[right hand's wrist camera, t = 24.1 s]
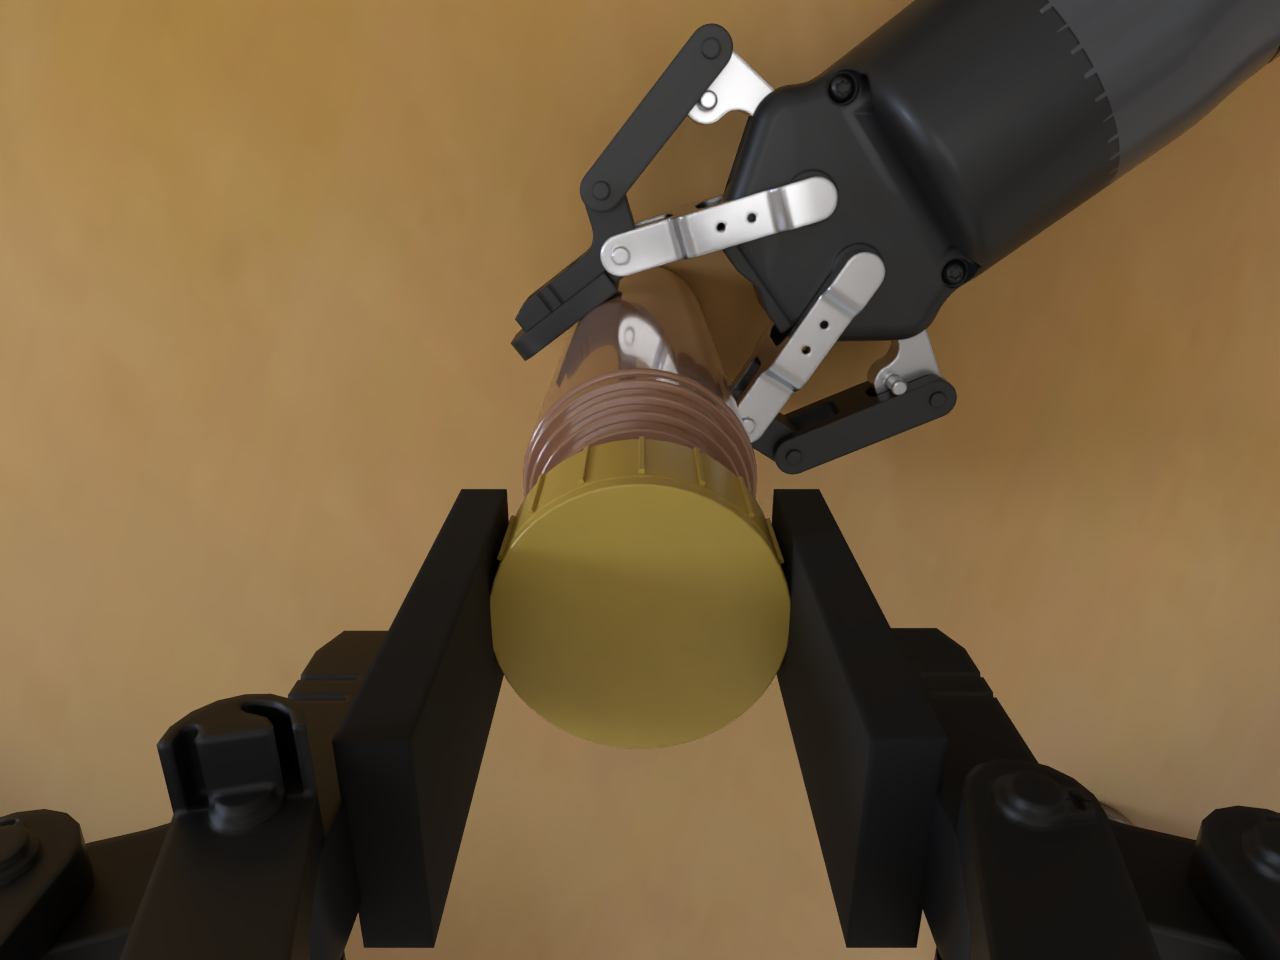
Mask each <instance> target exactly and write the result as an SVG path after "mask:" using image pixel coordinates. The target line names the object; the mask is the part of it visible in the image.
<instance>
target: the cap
mask: <svg viewBox="0 0 1280 960" xmlns="http://www.w3.org/2000/svg"><path fill="white" fill-rule="evenodd" d="M497 560H500V562H499V565H498V568H497V572H496V574H495V577H494V581H493V585H492V589H491V593H490V612H491V626H492V640H493V650H494V653H495V656H496V659H497V661H498V664H499V666H500V668H501V670H502V672H503V673H504V675H505V677H506V679H507V681H508V682H509V683H510V685H511V686H512V688H513V689H514V690H515V692H516V693H517V694H518V696H519V697H520V698H521V699H522V700H523V701H524V702H525V703H526V704H527V705H528V706H529V707H530V708H531V709H532V710H534V711H535V712H536V713H537V714H539V715H540V716H541V717H542V718H543V719H545V720H547V721H548V722H550V723H551V724H553V725H554V726H556V727H558V728H559V729H561V730H563V731H565V732H568V733H570V734H572V735H574V736H576V737H579V738H582V739H585V740H588V741H590V742H594V743H598V744H602V745H607V746H612V747H620V748H629V749H650V748H660V747H668V746H673V745H678V744H682V743H686V742H689V741H692V740H695V739H698V738H701V737H704V736H706V735H708V734H710V733H712V732H715V731H717V730H719V729H721V728H722V727H724V726H726V725H727V724H729V723H730V722H732V721H734V720H735V719H736V718H738V717H739V716H740V715H741V714H743V713H744V712H745V711H747V710H748V709H749V708H750V707H751V706H752V705H753V704H754V703H755V702H756V701H757V700H758V699H759V698H760V697H761V695H762V694H763V693H764V692H765V690H766V689H767V688H768V686H769V685H770V684H771V682H772V680H773V679H774V677H775V675H776V673H777V672H778V670H779V668H780V666H781V664H782V661H783V659H784V656H785V653H786V651H787V646H788V634H789V620H790V604H791V598H790V593H789V589H788V584H787V581H786V578H785V575H784V572H783V569H782V566H781V563H784V559H783V556H782V553H781V550H780V547H779V544H778V542H777V539H776V536H775V533H774V530H773V527H772V524H771V521H770V519H769V518H767V519H765V516H764V514H763V512H762V510H761V508H760V506H759V504H758V503H757V501H756V499H755V497H754V496H753V495H752V493H751V492H750V491H749V490H748V488H747V487H746V485H745V482H744V479H743V478H742V477H741V476H739V477H737V476H736V475H735V474H734V473H733V472H731V471H730V470H729V469H727V468H726V467H725V466H723V465H722V464H721V463H719V462H718V461H716V460H714V459H712V458H711V457H709V456H707V455H705V454H704V453H701V452H700V450H699V448H697V447H694V449H692V448H689V447H687V446H683V445H679V444H675V443H672V442H667V441H659V440H652V439H644V436H639V439H629V440H621V441H613V442H609V443H605V444H600V445H597V446H594V447H591V448H589V446H586V447H584V450H583V451H581V452H579V453H577V454H575V455H573V456H571V457H569V458H567V459H566V460H564V461H562V462H561V463H560V464H558V465H557V466H555V467H554V468H553V469H551V470H550V471H549V472H548V473H547V474H546V475H545V476H544V475H543V474H541V475H540V476H539V477H538V480H537V483H536V485H535V486H534V487H533V488H532V490H531V491H530V492H529V493H528V495H527V496H526V498H525V499H524V501H523V503H522V504H521V506H520V508H519V509H518V512H517V514H516V517H515V516H513V515H512V516H511V519H510V521H509V524H508V527H507V530H506V533H505V536H504V539H503V542H502V545H501V547H500V550H499V553H498V556H497Z"/></svg>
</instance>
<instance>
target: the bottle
mask: <svg viewBox="0 0 1280 960" xmlns="http://www.w3.org/2000/svg"><path fill="white" fill-rule="evenodd" d="M639 436H644V439H652V440H659V441H667V442H672V443H675V444H679V445H683V446H687V447H689V448H692V449H694V447H697V448H699V450H700V452H701V453H704V454H705V455H707V456H709V457H711V458H712V459H714V460H716V461H718V462H719V463H721V464H722V465H723V466H725V467H726V468H727V469H729V470H730V471H731V472H733V473H734V474H735V475H736V476H737V477H739V476H741V477H742V478H743V479H744V482H745V485H746V487H747V488H748V490H749V491H750V492H751V493H752V495H753V496H754V497H755V499H756V486H757V467H756V460H755V455H754V450H753V447H752V445H751V442H750V439H749V436H748V433H747V431H746V428H745V425H744V423H743V420H742V417H741V414H740V412H739V409H738V406H737V404H736V401H735V398H734V396H733V393H732V390H731V387H730V385H729V382H728V379H727V377H726V374H725V371H724V369H723V366H722V363H721V361H720V358H719V355H718V352H717V350H716V347H715V344H714V342H713V339H712V336H711V334H710V331H709V328H708V326H707V323H706V320H705V317H704V315H703V312H702V309H701V307H700V304H699V301H698V299H697V298H696V296H695V294H694V292H693V291H692V289H691V288H690V287H689V286H688V285H687V283H686V282H685V281H684V280H682V279H681V278H680V277H679V276H678V275H676V274H675V273H673V272H671V271H669V270H667V269H665V268H663V267H660V266H657V267H654V268H650V269H647V270H644V271H640V272H637V273H634V274H630V275H627V276H625V277H623V278H622V279H621V280H620V282H619V288H618V292H616V293H615V294H614V295H612V296H611V297H610V298H608V299H607V300H606V301H604V302H603V303H602V304H600V305H599V306H598V307H596V308H595V309H593V310H592V311H591V312H589V313H588V314H587V315H586V316H585V317H583V318H582V319H581V320H580V321H578V322H577V323H576V324H574V325H573V326H572V328H571V331H570V334H569V336H568V339H567V342H566V344H565V347H564V350H563V352H562V355H561V358H560V361H559V363H558V366H557V369H556V371H555V374H554V377H553V379H552V382H551V385H550V387H549V390H548V393H547V395H546V398H545V401H544V404H543V406H542V409H541V412H540V414H539V417H538V420H537V422H536V425H535V428H534V430H533V433H532V436H531V439H530V441H529V444H528V448H527V451H526V455H525V460H524V468H523V487H524V499H525V498H526V496H527V495H528V493H529V492H530V491H531V490H532V488H533V487H534V486H535V485H536V483H537V480H538V477H539V476H540V475H541V474H543V475H544V476H545V475H546V474H547V473H548V472H549V471H550V470H551V469H553V468H554V467H555V466H557V465H558V464H560V463H561V462H562V461H564V460H566V459H567V458H569V457H571V456H573V455H575V454H577V453H579V452H581V451H583V450H584V447H586V446H589V448H591V447H594V446H597V445H600V444H605V443H609V442H613V441H621V440H629V439H639Z"/></svg>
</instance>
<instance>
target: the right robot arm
mask: <svg viewBox="0 0 1280 960" xmlns="http://www.w3.org/2000/svg"><path fill="white" fill-rule="evenodd" d="M508 524H509V520H508V503H507V489H461V491H460V493H459V495H458V497H457V499H456V501H455V503H454V505H453V507H452V509H451V511H450V513H449V515H448V517H447V518H446V520H445V522H444V524H443V526H442V528H441V530H440V532H439V534H438V536H437V538H436V540H435V542H434V544H433V546H432V548H431V549H430V551H429V553H428V555H427V557H426V559H425V561H424V563H423V565H422V567H421V569H420V571H419V573H418V575H417V577H416V579H415V580H414V582H413V584H412V586H411V588H410V590H409V592H408V594H407V596H406V598H405V600H404V602H403V604H402V606H401V608H400V610H399V611H398V613H397V615H396V617H395V619H394V621H393V623H392V625H391V627H390V629H389V631H343V632H342V633H341V634H339V635H338V636H337V637H335V638H334V639H332V640H331V641H330V642H328V643H327V644H326V645H324V646H323V647H322V648H320V649H319V650H317V651H316V652H315V654H314V656H313V657H312V659H311V660H310V662H309V663H308V665H307V667H306V668H305V670H304V671H303V673H302V674H301V680H298V681H297V682H296V684H295V685H294V687H293V688H292V690H291V692H290V693H289V695H288V698H285V697H281V696H277V695H273V694H245V695H241V696H236V697H232V698H227V699H223V700H218V701H216V702H213V703H211V704H209V705H206V706H204V707H202V708H199V709H197V710H195V711H192V712H191V713H189V714H188V715H186V716H185V717H184V718H182V719H181V720H179V721H178V722H177V723H175V724H174V725H172V726H171V727H170V728H169V729H168V730H167V732H166V733H165V734H164V736H163V737H162V738H161V739H160V741H159V742H158V743H157V748H158V752H159V756H160V760H161V765H162V769H163V773H164V777H165V781H166V785H167V789H168V793H169V797H170V801H171V805H172V809H173V813H174V815H173V818H172V821H171V823H168V824H165V825H161V826H158V827H155V828H151V829H148V830H144V831H140V832H135V833H131V834H126V835H122V836H117V837H113V838H109V839H104V840H100V841H95V842H91V843H86V844H85V841H84V838H83V834H82V831H81V828H80V824H79V823H78V822H76V821H75V820H74V819H73V818H72V817H71V816H70V815H68V814H67V813H63V812H58V811H52V810H46V809H41V810H33V811H24V812H16V813H12V814H9V815H6V816H3V817H0V960H346V958H345V953H344V949H345V947H346V944H347V941H348V938H349V936H350V933H351V930H352V927H353V925H354V922H355V919H356V917H357V914H358V912H359V918H360V924H361V931H362V937H363V944H364V948H434V945H435V942H436V938H437V934H438V930H439V926H440V922H441V918H442V914H443V910H444V906H445V902H446V899H447V895H448V891H449V887H450V883H451V879H452V875H453V871H454V867H455V863H456V860H457V856H458V852H459V848H460V844H461V840H462V836H463V832H464V828H465V824H466V820H467V817H468V813H469V809H470V805H471V801H472V797H473V793H474V789H475V785H476V781H477V778H478V774H479V770H480V766H481V762H482V758H483V754H484V750H485V746H486V742H487V738H488V735H489V731H490V727H491V723H492V719H493V715H494V711H495V707H496V703H497V699H498V696H499V692H500V688H501V684H502V680H503V676H504V673H503V672H502V670H501V668H500V666H499V664H498V661H497V659H496V656H495V653H494V650H493V640H492V626H491V612H490V593H491V589H492V585H493V581H494V577H495V574H496V572H497V568H498V565H499V562H500V560H497V556H498V553H499V550H500V547H501V545H502V542H503V539H504V536H505V533H506V530H507V527H508ZM772 527H773V530H774V533H775V536H776V539H777V542H778V544H779V547H780V550H781V553H782V556H783V559H784V563H781V566H782V569H783V572H784V575H785V578H786V581H787V584H788V589H789V593H790V598H791V604H790V620H789V634H788V646H787V651H786V653H785V656H784V659H783V661H782V664H781V666H780V668H779V670H778V672H777V673H776V674H777V678H778V682H779V686H780V690H781V693H782V697H783V701H784V705H785V709H786V713H787V717H788V721H789V725H790V729H791V732H792V736H793V740H794V744H795V748H796V752H797V756H798V760H799V764H800V768H801V772H802V775H803V779H804V783H805V787H806V791H807V795H808V799H809V803H810V807H811V811H812V814H813V818H814V822H815V826H816V830H817V834H818V838H819V842H820V846H821V850H822V853H823V857H824V861H825V865H826V869H827V873H828V877H829V881H830V885H831V889H832V893H833V896H834V900H835V904H836V908H837V912H838V916H839V920H840V924H841V928H842V932H843V935H844V939H845V943H846V947H847V948H916V947H917V941H918V934H919V928H920V922H921V915H922V909H923V911H924V914H925V916H926V919H927V922H928V924H929V927H930V930H931V933H932V935H933V938H934V941H935V943H936V946H937V947H936V953H935V958H934V960H1280V813H1277V812H1274V811H1271V810H1268V809H1262V808H1253V807H1245V806H1233V807H1227V808H1221V809H1215V810H1214V811H1213V812H1212V813H1210V814H1209V815H1208V816H1207V817H1206V818H1205V819H1203V820H1202V823H1201V827H1200V830H1199V833H1198V837H1197V840H1192V839H1188V838H1183V837H1179V836H1174V835H1170V834H1166V833H1161V832H1157V831H1152V830H1148V829H1143V828H1139V827H1135V826H1131V825H1128V824H1124V823H1121V822H1118V821H1114V820H1111V819H1109V818H1108V817H1107V814H1106V812H1105V811H1104V809H1103V808H1102V806H1101V805H1100V803H1099V802H1098V800H1097V799H1096V797H1095V796H1094V794H1092V793H1091V792H1090V791H1089V790H1087V789H1086V788H1085V787H1084V786H1082V785H1081V784H1080V783H1079V782H1077V781H1076V780H1075V779H1074V778H1072V777H1070V776H1068V775H1066V774H1063V773H1061V772H1059V771H1057V770H1055V769H1053V768H1051V767H1049V766H1046V765H1042V764H1039V763H1038V762H1037V760H1036V759H1035V757H1034V756H1033V754H1032V752H1031V751H1030V749H1029V748H1028V746H1027V745H1026V743H1025V742H1024V740H1023V738H1022V737H1021V735H1020V734H1019V732H1018V731H1017V729H1016V728H1015V726H1014V724H1013V723H1012V721H1011V720H1010V718H1009V717H1008V715H1007V714H1006V712H1005V710H1004V709H1003V707H1002V706H1001V704H1000V703H999V701H998V700H997V698H993V692H992V690H991V689H990V687H989V686H988V684H987V682H986V681H985V679H984V678H983V677H980V671H979V670H978V668H977V667H976V665H975V664H974V662H973V661H972V659H971V657H970V656H969V654H968V653H967V651H966V650H965V648H963V647H962V646H960V645H959V644H958V643H956V642H955V641H954V640H952V639H951V638H949V637H948V636H947V635H945V634H944V633H942V632H941V631H940V630H938V629H937V628H890V626H889V624H888V622H887V620H886V618H885V616H884V614H883V612H882V610H881V608H880V606H879V605H878V603H877V601H876V599H875V597H874V595H873V593H872V591H871V589H870V587H869V585H868V583H867V581H866V579H865V577H864V575H863V574H862V572H861V570H860V568H859V566H858V564H857V562H856V560H855V558H854V556H853V554H852V552H851V550H850V548H849V546H848V544H847V543H846V541H845V539H844V537H843V535H842V533H841V531H840V529H839V527H838V525H837V523H836V521H835V519H834V517H833V515H832V513H831V512H830V510H829V508H828V506H827V504H826V502H825V500H824V498H823V496H822V494H821V492H820V490H819V489H774V496H773V512H772Z"/></svg>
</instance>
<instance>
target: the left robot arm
mask: <svg viewBox="0 0 1280 960" xmlns="http://www.w3.org/2000/svg"><path fill="white" fill-rule="evenodd" d="M1279 56H1280V0H915V1H914V2H912V3H911V4H910V5H909V6H907V7H906V8H905V9H903V10H902V11H901V12H900V13H898V14H897V15H896V16H894V17H893V18H892V19H891V20H889V21H888V22H887V23H886V24H884V25H883V26H882V27H880V28H879V29H878V30H877V31H875V32H874V33H873V34H871V35H870V36H869V37H868V38H866V39H865V40H864V41H862V42H861V43H860V44H859V45H857V46H856V47H855V48H854V49H852V50H851V51H850V52H848V53H847V54H846V55H845V56H843V57H842V58H841V59H839V60H838V61H837V62H836V63H834V64H833V65H832V66H830V67H829V68H828V69H827V70H825V71H824V72H823V73H821V74H820V75H818V76H817V77H815V78H814V79H812V80H810V81H808V82H805V83H801V84H795V85H787V86H783V87H780V88H778V89H775V90H774V89H773V88H772V87H771V86H770V85H769V84H768V83H767V82H766V81H765V80H764V79H763V78H761V77H760V76H759V75H758V74H757V73H756V72H755V71H754V70H753V69H752V68H751V67H750V66H749V65H748V64H747V63H746V62H745V61H744V60H743V59H742V58H741V57H740V56H738V55H737V54H736V53H735V52H734V51H733V43H732V39H731V36H730V34H729V33H728V32H727V30H726V29H725V28H723V27H722V26H720V25H717V24H706V25H703V26H701V27H700V28H698V29H697V30H696V31H695V32H694V34H693V35H692V36H691V37H690V39H689V40H688V41H687V43H686V44H685V45H684V47H683V48H682V49H681V51H680V52H679V53H678V54H677V56H676V57H675V58H674V60H673V61H672V62H671V64H670V65H669V66H668V68H667V69H666V70H665V72H664V73H663V74H662V75H661V77H660V78H659V79H658V81H657V82H656V83H655V85H654V86H653V87H652V89H651V90H650V91H649V92H648V94H647V95H646V96H645V98H644V99H643V100H642V102H641V103H640V104H639V106H638V107H637V108H636V110H635V111H634V112H633V113H632V115H631V116H630V117H629V119H628V120H627V121H626V123H625V124H624V125H623V127H622V128H621V129H620V130H619V132H618V133H617V134H616V136H615V137H614V138H613V140H612V141H611V142H610V144H609V145H608V146H607V148H606V149H605V150H604V151H603V153H602V154H601V155H600V157H599V158H598V159H597V161H596V162H595V163H594V165H593V166H592V167H591V169H590V170H589V171H588V172H587V174H586V175H585V176H584V178H583V180H582V182H581V186H580V195H581V198H582V200H583V202H584V204H585V206H586V210H587V213H588V216H589V219H590V223H591V226H592V230H593V242H592V245H591V247H590V248H589V249H588V250H587V251H586V252H585V253H584V254H582V255H581V256H580V257H579V258H577V259H576V260H575V261H574V262H572V263H571V264H570V265H568V266H567V267H566V268H565V269H563V270H562V271H561V272H560V273H558V274H557V275H556V276H554V277H553V278H552V279H551V280H549V281H548V282H547V283H546V284H544V285H543V286H542V287H540V288H539V289H538V290H537V291H535V292H534V293H533V294H531V295H530V296H529V297H528V298H527V300H526V301H525V303H524V304H523V306H522V307H521V309H520V311H519V313H518V315H517V316H516V318H515V320H516V321H517V322H518V323H519V325H520V326H521V327H522V328H523V329H522V330H520V331H519V332H518V333H517V334H516V336H515V337H514V339H513V340H512V342H511V344H512V346H513V347H514V348H515V349H516V350H517V352H518V353H519V354H520V355H521V357H522V358H523V359H524V360H525V361H526V360H528V359H529V358H531V357H532V356H534V355H535V354H536V353H538V352H539V351H540V350H542V349H543V348H544V347H546V346H547V345H548V344H549V343H551V342H552V341H553V340H555V339H556V338H557V337H559V336H560V335H561V334H563V333H564V332H565V331H566V330H568V329H569V328H570V327H572V326H573V325H574V324H576V323H577V322H578V321H580V320H581V319H582V318H583V317H585V316H586V315H587V314H588V313H589V312H591V311H592V310H593V309H595V308H596V307H598V306H599V305H600V304H602V303H603V302H604V301H606V300H607V299H608V298H610V297H611V296H612V295H614V294H615V293H616V292H618V288H619V282H620V280H621V279H622V278H623V277H625V276H627V275H630V274H634V273H637V272H640V271H644V270H647V269H650V268H654V267H657V266H660V265H664V264H667V263H670V262H674V261H677V260H681V259H689V258H694V257H698V256H701V255H705V254H708V253H711V252H715V251H718V250H721V249H722V250H723V252H724V253H725V254H726V256H727V257H728V259H729V260H730V262H731V263H732V264H733V266H734V267H735V268H736V270H737V271H738V272H739V273H740V274H742V275H743V276H744V277H745V278H747V279H748V280H749V281H750V282H751V283H752V284H753V287H754V290H755V292H756V295H757V298H758V301H759V303H760V305H761V306H762V307H763V309H764V310H765V312H766V313H767V315H768V316H769V318H770V319H771V320H772V321H771V322H770V324H769V325H768V327H767V328H766V330H765V331H764V332H763V334H762V335H761V337H760V338H759V340H758V341H757V343H756V345H755V347H754V350H753V353H752V355H751V357H750V358H749V360H748V361H747V363H746V364H745V366H744V367H743V368H742V370H741V371H740V373H739V374H738V376H737V377H736V379H735V380H734V381H733V383H732V384H731V386H730V387H731V390H732V393H733V396H734V398H735V401H736V404H737V406H738V409H739V412H740V414H741V417H742V420H743V423H744V425H745V428H746V431H747V433H748V436H749V439H750V442H751V445H752V447H753V448H754V449H756V450H757V451H759V452H761V453H762V454H764V455H765V456H767V457H768V458H770V459H772V460H773V461H775V462H776V464H777V466H778V468H779V469H780V470H781V471H783V472H785V473H787V474H798V473H801V472H804V471H806V470H809V469H811V468H814V467H816V466H819V465H821V464H824V463H826V462H829V461H831V460H834V459H836V458H839V457H841V456H844V455H846V454H849V453H851V452H854V451H856V450H859V449H861V448H864V447H867V446H869V445H872V444H874V443H877V442H879V441H882V440H884V439H887V438H889V437H892V436H894V435H897V434H899V433H902V432H904V431H907V430H909V429H912V428H914V427H917V426H919V425H922V424H924V423H927V422H929V421H932V420H934V419H937V418H939V417H942V416H944V415H946V414H948V413H949V412H950V411H951V410H952V409H953V407H954V406H955V403H956V399H957V395H956V391H955V389H954V387H953V386H952V385H951V384H950V383H948V382H947V381H946V379H945V378H943V377H942V376H941V374H940V372H939V369H938V366H937V362H936V359H935V356H934V353H933V350H932V347H931V344H930V341H929V337H928V334H927V331H926V328H928V326H929V325H930V324H931V323H932V322H933V320H934V318H935V317H936V315H937V313H938V311H939V309H940V308H941V306H942V305H943V303H944V302H945V301H946V299H947V298H948V297H949V296H950V295H951V294H952V293H953V292H954V291H955V290H956V289H957V288H959V287H960V286H962V285H963V284H965V283H967V282H968V281H970V280H972V279H973V278H975V277H976V276H978V275H980V274H981V273H983V272H984V271H986V270H987V269H988V268H990V267H991V266H993V265H994V264H996V263H997V262H998V261H1000V260H1001V259H1003V258H1004V257H1006V256H1007V255H1009V254H1010V253H1011V252H1013V251H1014V250H1016V249H1017V248H1019V247H1020V246H1022V245H1023V244H1024V243H1026V242H1027V241H1029V240H1030V239H1032V238H1033V237H1035V236H1036V235H1037V234H1039V233H1040V232H1042V231H1043V230H1045V229H1046V228H1048V227H1049V226H1051V225H1052V224H1053V223H1055V222H1056V221H1058V220H1059V219H1061V218H1062V217H1064V216H1065V215H1066V214H1068V213H1069V212H1071V211H1072V210H1074V209H1075V208H1077V207H1078V206H1079V205H1081V204H1082V203H1084V202H1085V201H1087V200H1088V199H1090V198H1091V197H1092V196H1094V195H1095V194H1097V193H1098V192H1100V191H1101V190H1103V189H1104V188H1106V187H1107V186H1108V185H1110V184H1111V183H1113V182H1114V181H1116V180H1117V179H1119V178H1120V177H1121V176H1123V175H1124V174H1126V173H1127V172H1129V171H1130V170H1131V169H1133V168H1134V167H1136V166H1137V165H1139V164H1140V163H1142V162H1143V161H1144V160H1146V159H1147V158H1149V157H1150V156H1152V155H1153V154H1155V153H1156V152H1157V151H1159V150H1160V149H1162V148H1163V147H1165V146H1166V145H1168V144H1169V143H1171V142H1172V141H1174V140H1175V139H1176V138H1178V137H1179V136H1180V135H1182V134H1183V133H1185V132H1186V131H1187V130H1189V129H1190V128H1191V127H1193V126H1194V125H1195V124H1196V123H1198V122H1199V121H1200V120H1201V119H1202V118H1203V117H1205V116H1206V115H1207V114H1208V113H1209V112H1211V111H1212V110H1213V109H1214V108H1215V107H1216V106H1217V105H1218V104H1219V103H1221V102H1222V101H1223V100H1224V99H1225V98H1226V97H1227V96H1228V95H1229V94H1230V93H1232V92H1233V91H1234V90H1235V89H1236V88H1237V87H1239V86H1240V85H1241V84H1242V83H1243V82H1244V81H1246V80H1247V79H1248V78H1250V77H1251V76H1252V75H1254V74H1255V73H1256V72H1258V71H1259V70H1260V69H1262V68H1263V67H1264V66H1265V65H1266V64H1268V63H1270V62H1272V61H1273V60H1274V59H1276V58H1277V57H1279ZM729 111H740V112H742V113H744V114H746V115H747V116H748V117H749V118H748V121H747V124H746V127H745V130H744V133H743V136H742V139H741V142H740V145H739V148H738V151H737V154H736V157H735V160H734V163H733V167H732V170H731V173H730V176H729V179H728V182H727V185H726V188H725V191H724V194H721V195H718V196H715V197H712V198H708V199H705V200H702V201H699V202H695V203H692V204H689V205H686V206H683V207H679V208H677V209H674V210H671V211H669V212H667V213H664V214H661V215H657V216H654V217H651V218H648V219H644V220H641V221H638V222H635V223H634V220H633V216H632V213H631V209H630V206H629V203H628V199H627V196H626V193H627V191H628V190H629V189H630V188H631V186H632V185H633V184H634V183H635V181H636V180H637V179H638V177H639V176H640V175H641V174H642V172H643V171H644V170H645V168H646V167H647V166H648V165H649V163H650V162H651V161H652V160H653V158H654V157H655V156H656V154H657V153H658V152H659V151H660V149H661V148H662V147H663V146H664V144H665V143H666V142H667V140H668V139H669V138H670V137H671V135H672V134H673V133H674V132H675V130H676V129H677V128H678V126H679V125H680V124H681V123H682V121H683V120H684V119H685V118H686V116H688V117H689V118H690V119H691V120H692V121H693V122H695V123H697V124H701V125H707V124H711V123H714V122H716V121H717V120H719V119H720V118H721V117H722V116H723V115H724V114H726V113H727V112H729ZM879 340H891V346H890V348H889V351H888V352H887V353H886V354H885V356H883V357H882V358H881V359H879V360H877V361H876V362H874V363H873V364H872V366H871V367H870V369H869V371H868V376H867V378H868V381H866V382H864V383H861V384H859V385H856V386H854V387H851V388H849V389H846V390H844V391H842V392H839V393H837V394H834V395H832V396H829V397H827V398H824V399H822V400H820V401H817V402H815V403H812V404H810V405H807V406H805V407H802V408H800V409H798V410H795V411H793V412H790V413H788V414H785V415H782V414H781V413H779V411H780V410H781V408H782V407H783V406H784V404H785V403H786V402H787V400H788V399H789V397H790V396H791V395H792V394H793V393H794V392H795V391H798V390H799V389H801V388H802V387H803V386H804V385H805V383H806V382H807V381H808V379H809V378H810V377H811V375H812V374H813V373H814V371H815V370H816V368H817V367H818V366H819V364H820V363H821V362H822V360H823V359H824V357H825V356H826V355H827V353H828V352H829V351H830V349H831V348H832V346H833V345H834V344H835V342H836V341H879ZM804 346H807V349H806V350H802V348H803V347H804ZM1100 805H1101V804H1100ZM1101 806H1102V808H1103V809H1104V811H1105V812H1106V814H1107V817H1108V818H1109V819H1111V820H1114V821H1118V822H1121V823H1124V824H1128V825H1131V826H1133V825H1132V824H1131V823H1130V822H1129V821H1128V820H1127V819H1126V818H1125V817H1123V816H1122V815H1121V814H1119V813H1118V812H1116V811H1114V810H1113V809H1111V808H1108V807H1106V806H1104V805H1101Z"/></svg>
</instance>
